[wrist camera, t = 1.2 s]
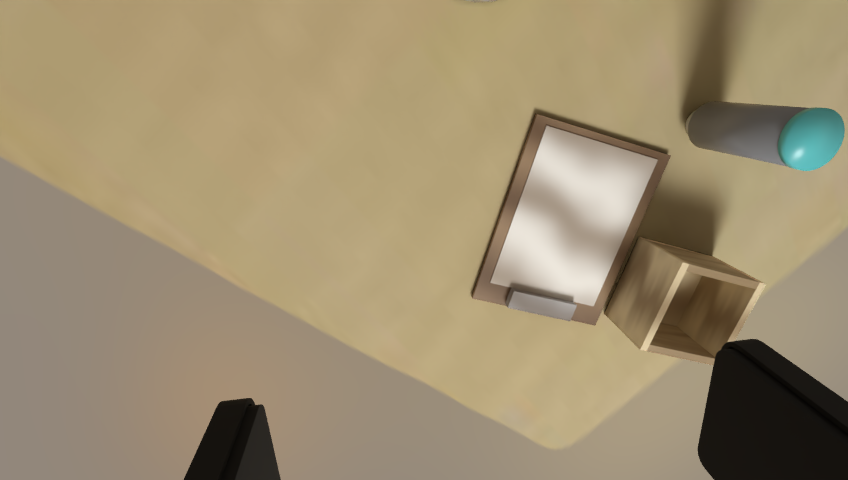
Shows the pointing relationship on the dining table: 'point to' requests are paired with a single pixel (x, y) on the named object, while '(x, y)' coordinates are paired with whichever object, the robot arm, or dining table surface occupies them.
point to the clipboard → (568, 221)
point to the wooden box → (681, 301)
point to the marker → (768, 132)
